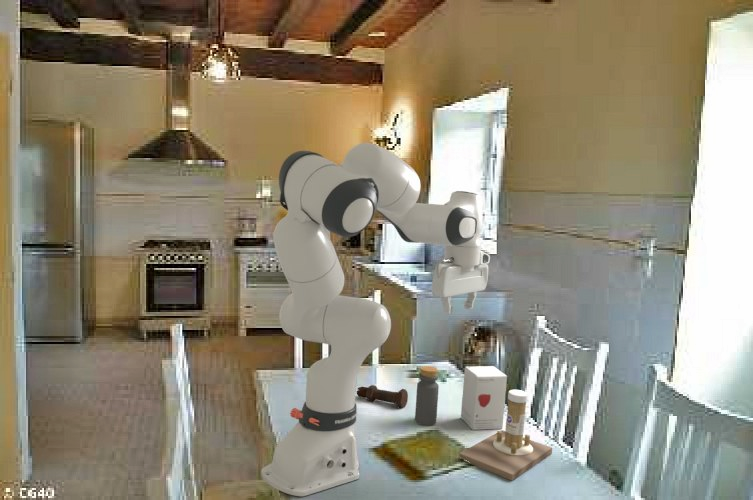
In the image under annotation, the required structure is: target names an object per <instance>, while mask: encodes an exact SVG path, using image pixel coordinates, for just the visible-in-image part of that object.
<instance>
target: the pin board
mask: <svg viewBox="0 0 753 500" xmlns="http://www.w3.org/2000/svg"><path fill="white" fill-rule="evenodd" d="M505 432H506V430H504V429H501V430H498V431H497V432H496V433H494V434H492V435H490V436H489V437H487V438H485V439H483V440H481V441H479V442H477V443H476V444H474V445H472V446H471V447H468V448H466V449H465V450H462V451H461V452H459V456H460V457H461V458H463V459H465V460H467V461H469V462H470V463H471V464H470V463H469V464H470V465H472V466H475V467H477V468H479V469H482V470H484V471H487V472H490V473H491V474H494V475H497V476H499V477H502V478H504V479H506V480H508V481H514V480H516V479H517V478H519V477H520V476H521V475H523V474H525V473H526V472H527V471H529V470H531V469H532V468H533V467H535V466H536V465H538V464H539V463H540V462H542V461H543V460H545V459H546V458H548V457H549V456H550V455H552V454H553V447H552V446H548V445H546V444H542V443H540V442H537V441H534V440H531V435H530V434H524V437H523V440H522V443H523V445H522V446H521V447H519V448H516V447H517V444H516V443H512V445H511V447H509V446H507V445H506V444H505V443H504V440H505ZM459 456H458V457H459Z"/></svg>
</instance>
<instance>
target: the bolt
mask: <svg viewBox="0 0 753 500" xmlns="http://www.w3.org/2000/svg"><path fill="white" fill-rule="evenodd" d="M356 395H357V396H358V397H359V398H364V399H366V400H367V401H368V402H370V403H373V402H375V401H379V402H385V403H390V404H393V405H394V404H395V405H396V406H397V409H401V410H402V409H404V408H405V407H407V404H408V400H409V399H408V398H409V396H408V395H409V394H408V391H407V389H405V388H401V389H400V390H398V391H392V390H384V389H378V386H376V385H374V384H372V385H369V386H368V387H367V386H359V387H357V390H356Z"/></svg>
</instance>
